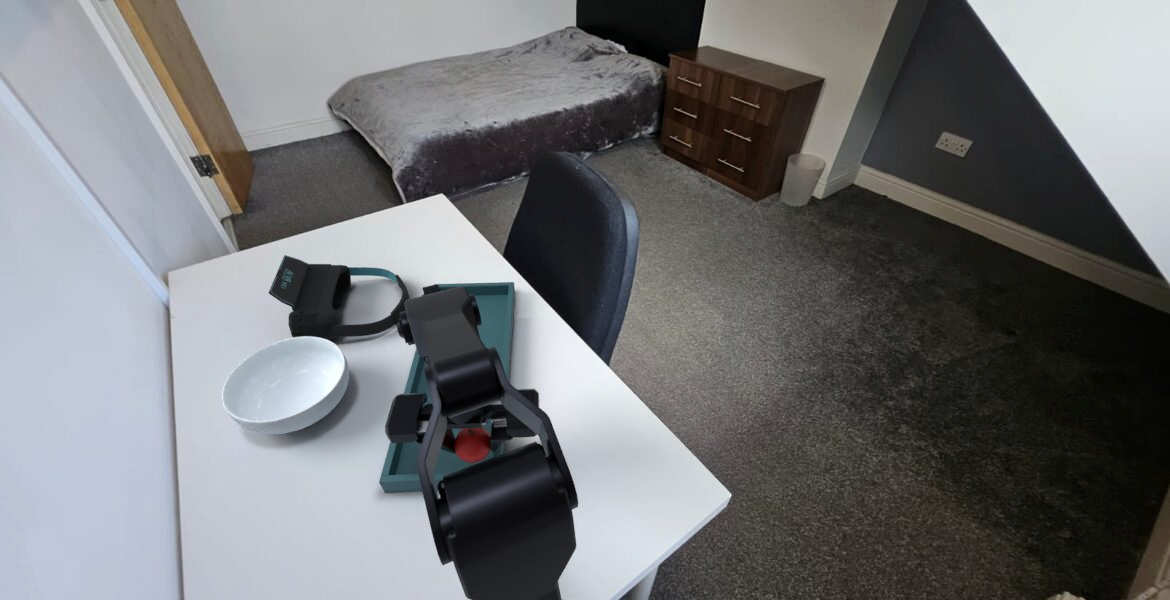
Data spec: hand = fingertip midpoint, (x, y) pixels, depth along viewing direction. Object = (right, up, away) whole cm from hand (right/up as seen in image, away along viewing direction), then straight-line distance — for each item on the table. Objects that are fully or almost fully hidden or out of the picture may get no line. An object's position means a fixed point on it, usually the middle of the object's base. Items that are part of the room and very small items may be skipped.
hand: (474, 449), depth 66 cm
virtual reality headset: (-30, +19, +27) cm, 44 cm away
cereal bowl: (-30, +4, +10) cm, 32 cm away
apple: (0, -1, +1) cm, 1 cm away
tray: (-6, +8, +15) cm, 18 cm away
